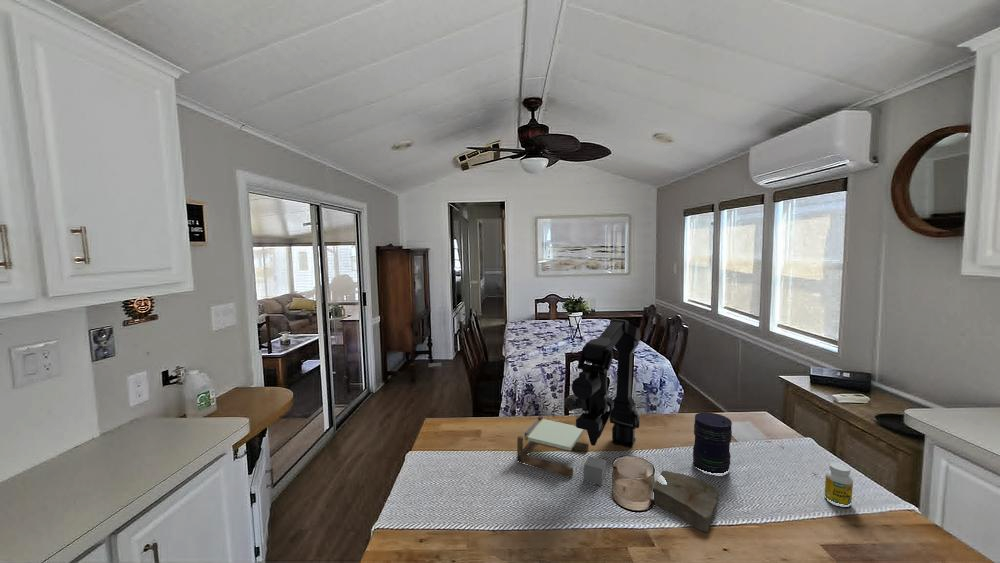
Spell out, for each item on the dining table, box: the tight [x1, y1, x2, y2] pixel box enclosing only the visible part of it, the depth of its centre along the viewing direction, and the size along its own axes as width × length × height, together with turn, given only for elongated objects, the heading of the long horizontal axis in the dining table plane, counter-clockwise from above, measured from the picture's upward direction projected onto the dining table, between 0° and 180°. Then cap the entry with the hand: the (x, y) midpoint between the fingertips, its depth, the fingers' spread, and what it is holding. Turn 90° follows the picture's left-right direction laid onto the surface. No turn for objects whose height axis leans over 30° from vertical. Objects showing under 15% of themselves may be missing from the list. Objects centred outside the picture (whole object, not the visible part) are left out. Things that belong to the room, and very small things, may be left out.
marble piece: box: [652, 470, 720, 533], centre depth 103 cm, size 17×15×4 cm
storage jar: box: [692, 411, 733, 473], centre depth 119 cm, size 10×10×15 cm
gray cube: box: [583, 455, 607, 486], centre depth 114 cm, size 5×5×5 cm
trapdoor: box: [524, 418, 585, 451], centre depth 125 cm, size 16×14×1 cm
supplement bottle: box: [824, 462, 854, 505], centre depth 103 cm, size 5×5×10 cm
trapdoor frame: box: [516, 415, 590, 478], centre depth 126 cm, size 17×17×8 cm
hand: (595, 441), depth 113 cm, fingers open, 4 cm apart
